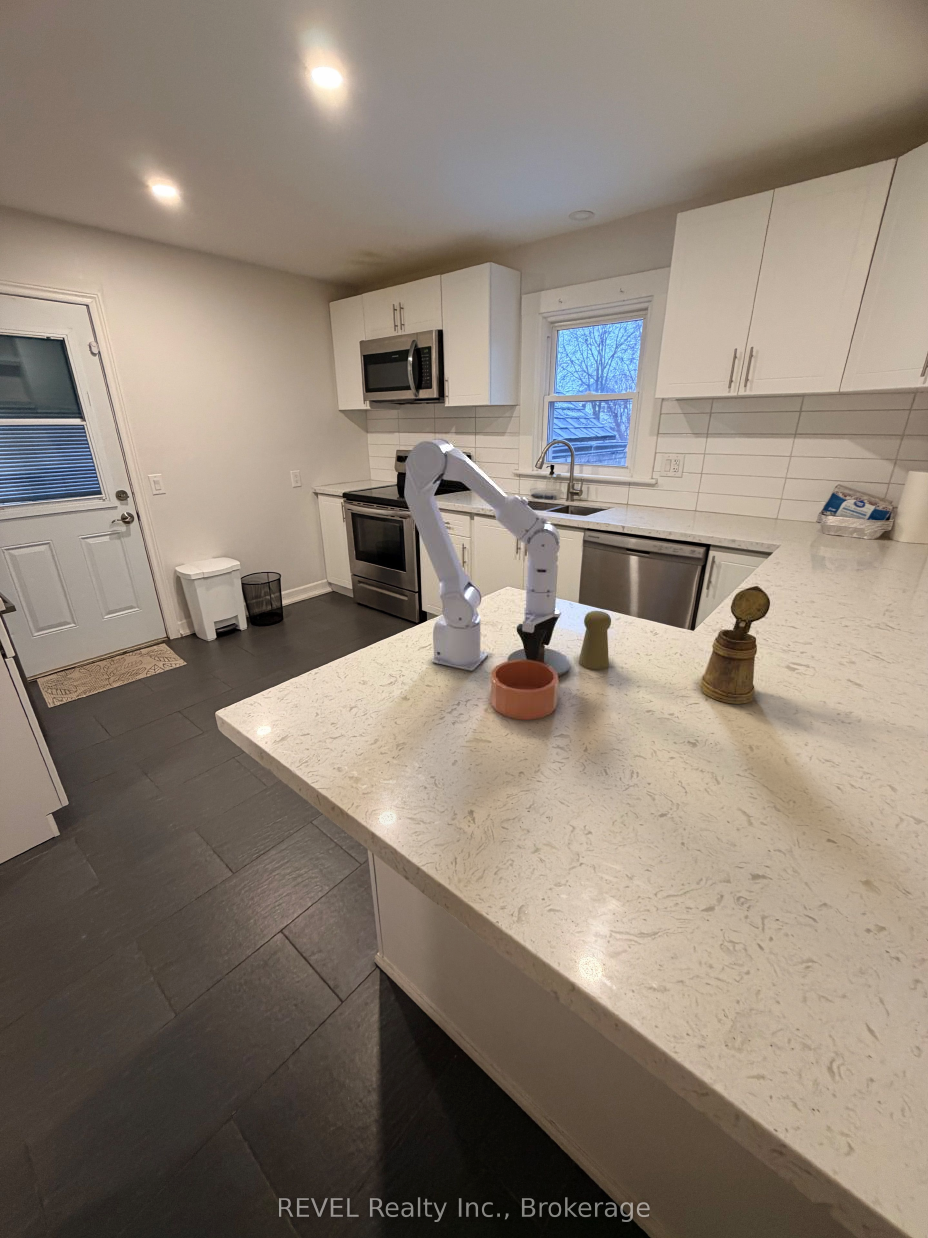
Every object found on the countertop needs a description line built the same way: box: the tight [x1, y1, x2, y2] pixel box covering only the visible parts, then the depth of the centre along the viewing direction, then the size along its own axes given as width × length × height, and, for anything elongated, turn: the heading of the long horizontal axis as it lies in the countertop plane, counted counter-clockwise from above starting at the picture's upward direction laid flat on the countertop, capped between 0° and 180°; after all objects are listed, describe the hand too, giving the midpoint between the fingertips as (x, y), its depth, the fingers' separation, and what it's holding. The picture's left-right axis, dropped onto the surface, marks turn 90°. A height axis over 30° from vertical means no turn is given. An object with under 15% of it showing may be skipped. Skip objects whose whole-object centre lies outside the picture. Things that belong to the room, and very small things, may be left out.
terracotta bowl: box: [490, 660, 559, 721], centre depth 88 cm, size 12×12×5 cm
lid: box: [506, 644, 571, 677], centre depth 100 cm, size 13×13×4 cm
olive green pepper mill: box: [578, 610, 612, 670], centre depth 100 cm, size 6×6×11 cm
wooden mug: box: [699, 585, 771, 705], centre depth 89 cm, size 9×14×18 cm, turn 140°
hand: (538, 651), depth 100 cm, fingers open, 7 cm apart
